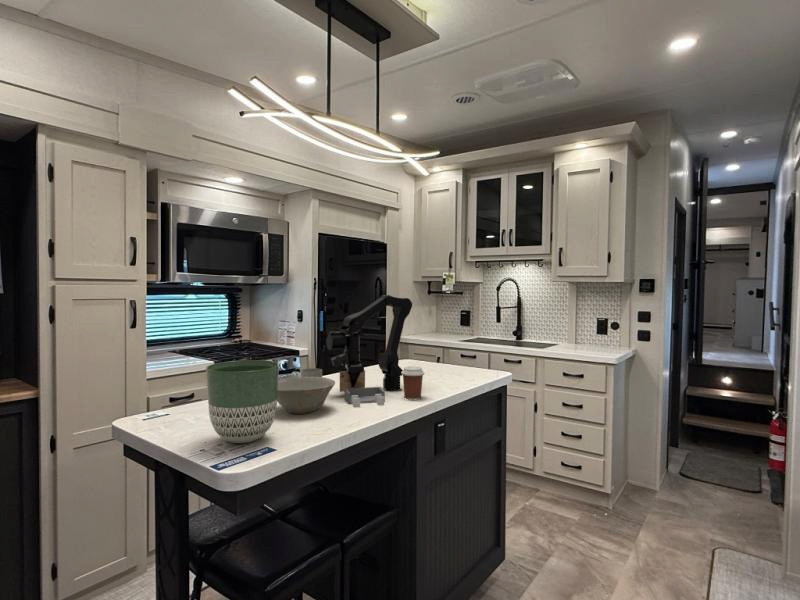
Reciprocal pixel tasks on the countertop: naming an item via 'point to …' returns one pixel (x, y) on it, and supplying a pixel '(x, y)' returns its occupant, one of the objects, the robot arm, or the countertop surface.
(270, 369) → the planter
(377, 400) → the carcass
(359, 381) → the door
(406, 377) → the coffee cup
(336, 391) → the countertop surface
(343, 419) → the countertop surface
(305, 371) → the cup
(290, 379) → the ceramic bowl
